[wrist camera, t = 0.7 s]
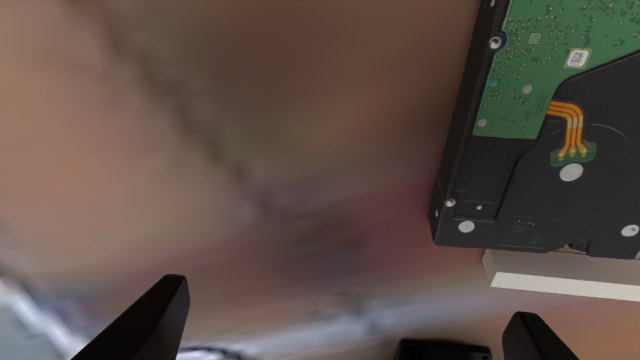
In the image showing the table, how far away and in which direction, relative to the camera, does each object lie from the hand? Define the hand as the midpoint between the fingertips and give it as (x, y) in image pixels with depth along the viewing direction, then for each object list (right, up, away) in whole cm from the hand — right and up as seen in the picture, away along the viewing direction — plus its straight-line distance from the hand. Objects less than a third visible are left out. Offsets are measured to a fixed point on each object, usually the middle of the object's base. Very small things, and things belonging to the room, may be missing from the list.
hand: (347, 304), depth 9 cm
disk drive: (+11, +7, +10) cm, 16 cm away
